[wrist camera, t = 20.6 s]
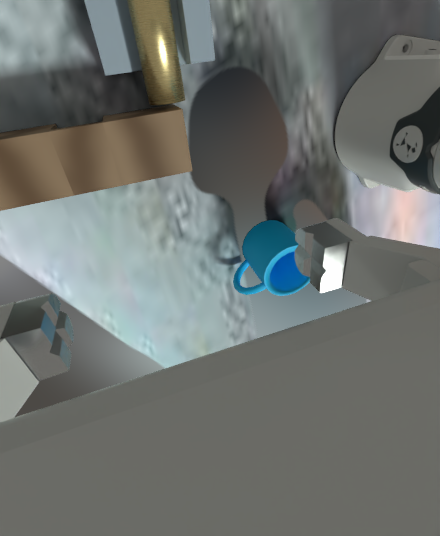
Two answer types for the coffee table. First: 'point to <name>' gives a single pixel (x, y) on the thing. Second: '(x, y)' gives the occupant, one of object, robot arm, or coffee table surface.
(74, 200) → the coffee table surface
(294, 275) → the mug
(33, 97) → the coffee table surface
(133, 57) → the cradle
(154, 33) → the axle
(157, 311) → the coffee table surface
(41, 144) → the beam
